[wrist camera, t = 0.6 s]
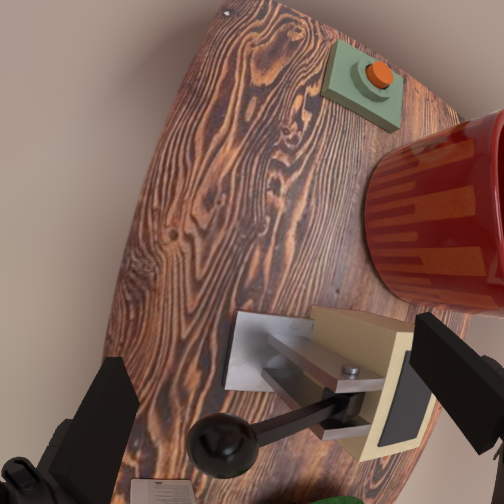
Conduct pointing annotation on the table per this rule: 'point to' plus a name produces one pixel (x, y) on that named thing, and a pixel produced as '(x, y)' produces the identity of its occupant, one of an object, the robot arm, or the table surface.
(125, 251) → the table surface
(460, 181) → the planter
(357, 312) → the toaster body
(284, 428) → the toaster lever
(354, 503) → the decorative tree
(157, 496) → the container
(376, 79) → the button
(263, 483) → the table surface
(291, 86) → the table surface
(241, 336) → the metal lever stand
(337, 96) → the control block
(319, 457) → the table surface
